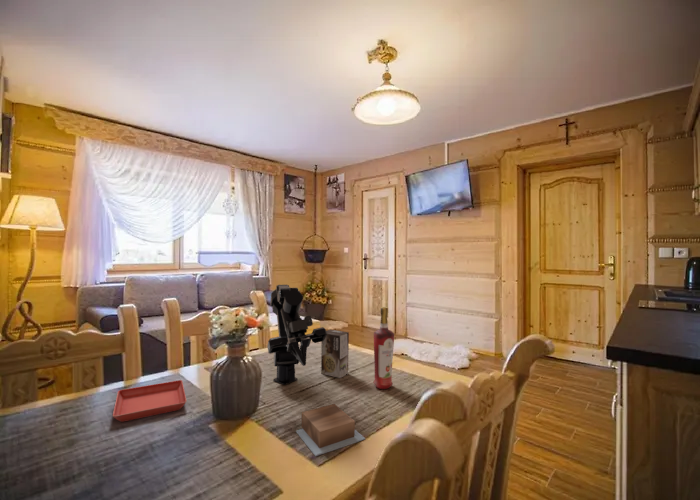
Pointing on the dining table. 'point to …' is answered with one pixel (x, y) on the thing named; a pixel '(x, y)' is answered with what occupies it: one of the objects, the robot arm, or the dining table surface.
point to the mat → (319, 451)
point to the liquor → (383, 353)
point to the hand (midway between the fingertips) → (304, 365)
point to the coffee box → (335, 353)
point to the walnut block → (327, 425)
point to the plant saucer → (149, 400)
